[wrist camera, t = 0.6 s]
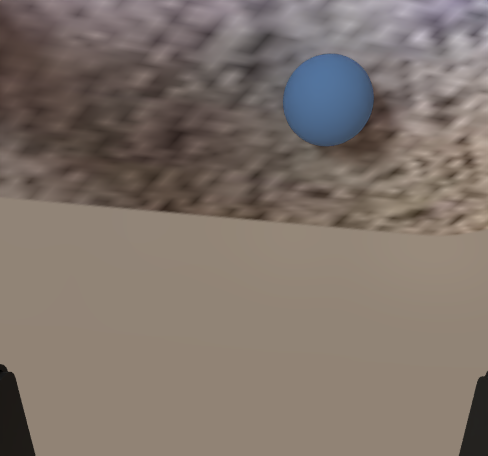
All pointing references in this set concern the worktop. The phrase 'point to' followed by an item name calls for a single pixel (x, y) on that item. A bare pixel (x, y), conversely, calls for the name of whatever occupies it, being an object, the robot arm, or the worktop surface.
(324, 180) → the worktop surface
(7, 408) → the robot arm
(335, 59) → the ball
